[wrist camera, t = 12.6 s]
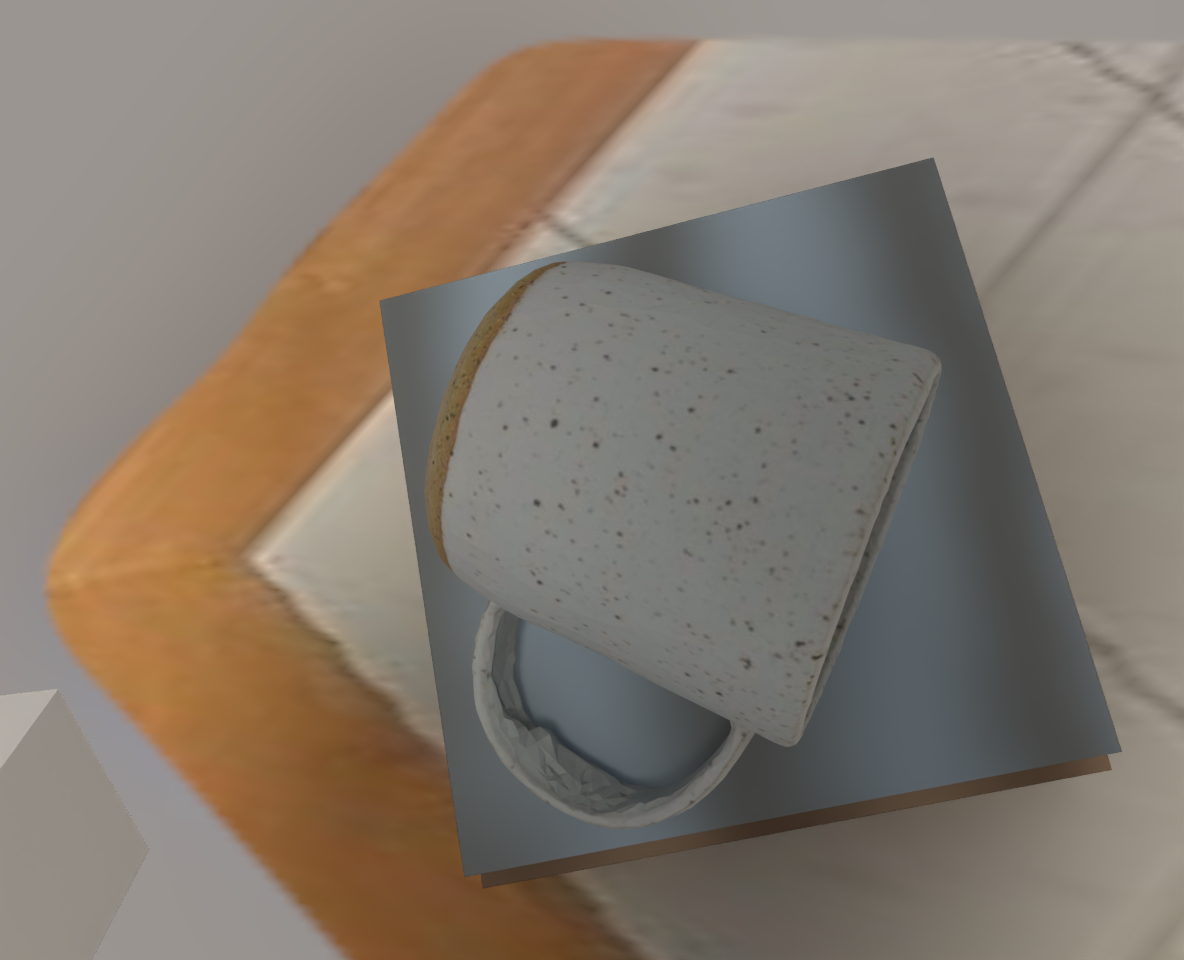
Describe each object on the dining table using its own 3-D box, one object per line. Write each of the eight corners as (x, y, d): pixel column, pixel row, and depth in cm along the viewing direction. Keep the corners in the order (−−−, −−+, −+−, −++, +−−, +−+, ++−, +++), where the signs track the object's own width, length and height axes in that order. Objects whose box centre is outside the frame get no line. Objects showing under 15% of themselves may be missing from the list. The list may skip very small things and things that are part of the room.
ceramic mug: (592, 319, 26) (513, 156, 19) (925, 428, 24) (984, 294, 17) (418, 734, 25) (256, 735, 17) (757, 889, 22) (740, 965, 15)
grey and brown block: (918, 246, 31) (948, 134, 26) (1077, 767, 27) (1155, 771, 22) (431, 368, 33) (358, 287, 27) (512, 875, 29) (445, 905, 23)
